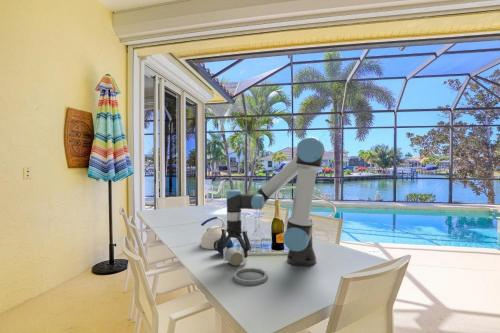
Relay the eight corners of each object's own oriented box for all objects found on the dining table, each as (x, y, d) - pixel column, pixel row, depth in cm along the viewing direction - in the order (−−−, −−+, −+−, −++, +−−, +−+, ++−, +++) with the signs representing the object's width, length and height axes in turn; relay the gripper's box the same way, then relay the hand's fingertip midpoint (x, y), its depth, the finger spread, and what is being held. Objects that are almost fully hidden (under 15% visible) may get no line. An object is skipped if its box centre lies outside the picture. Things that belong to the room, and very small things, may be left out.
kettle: (237, 246, 176) (237, 217, 175) (205, 251, 166) (205, 221, 166) (226, 238, 194) (225, 212, 193) (196, 242, 185) (196, 215, 184)
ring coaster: (273, 273, 131) (273, 270, 131) (260, 288, 116) (259, 284, 116) (242, 269, 138) (242, 265, 138) (226, 281, 123) (226, 277, 123)
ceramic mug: (230, 267, 139) (230, 252, 139) (224, 262, 146) (224, 248, 146) (249, 264, 144) (249, 249, 144) (242, 259, 151) (242, 245, 151)
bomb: (212, 253, 162) (211, 227, 162) (229, 250, 167) (228, 225, 167) (218, 258, 154) (217, 231, 154) (235, 255, 159) (235, 228, 159)
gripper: (257, 219, 143) (257, 262, 144) (218, 216, 153) (219, 256, 153) (251, 222, 137) (251, 267, 137) (211, 219, 146) (212, 261, 147)
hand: (234, 261), depth 145 cm, fingers closed on ceramic mug, 10 cm apart
